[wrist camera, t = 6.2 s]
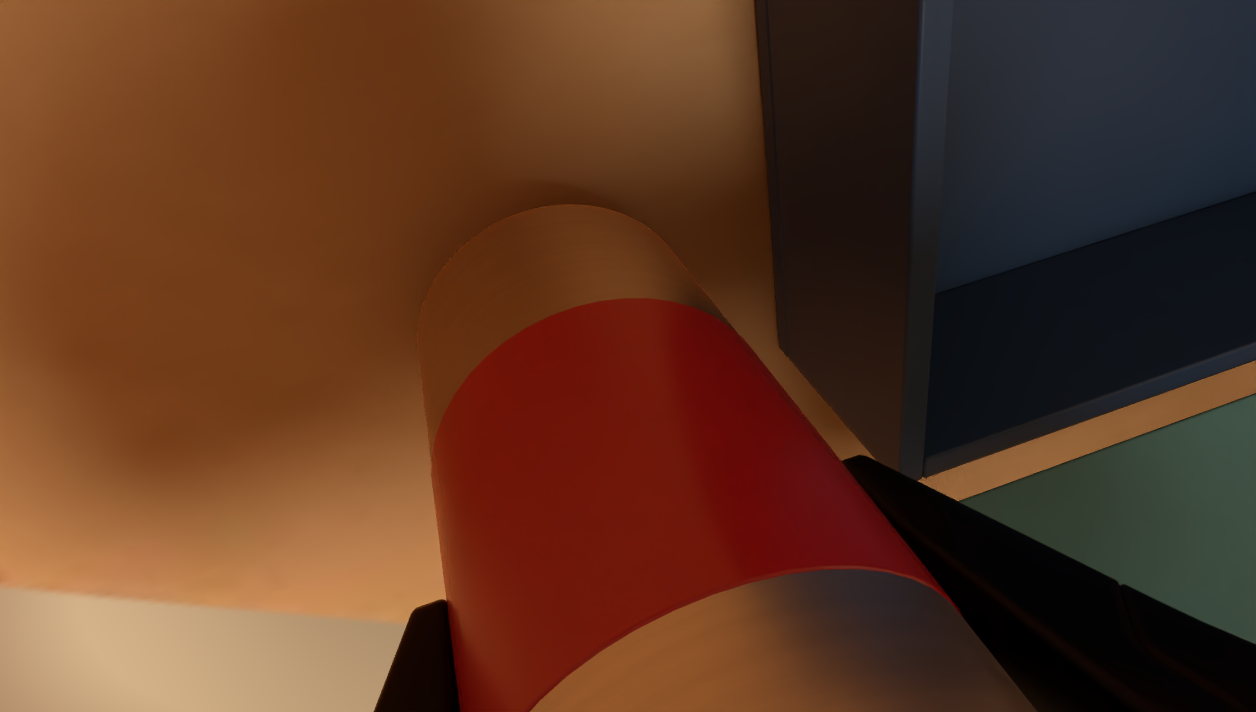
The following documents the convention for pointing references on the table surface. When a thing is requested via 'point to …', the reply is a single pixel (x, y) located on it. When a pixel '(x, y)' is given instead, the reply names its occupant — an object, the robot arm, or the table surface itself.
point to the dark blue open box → (1007, 210)
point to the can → (656, 501)
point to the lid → (1156, 513)
